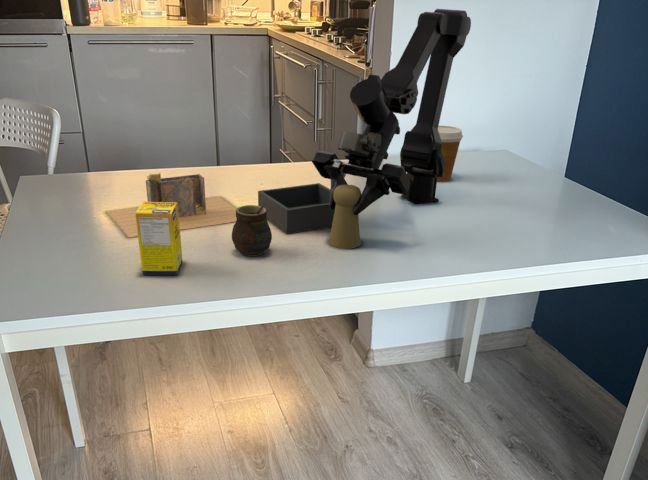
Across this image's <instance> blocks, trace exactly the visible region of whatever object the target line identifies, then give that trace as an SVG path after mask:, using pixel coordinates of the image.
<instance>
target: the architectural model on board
mask: <svg viewBox="0 0 648 480" xmlns="http://www.w3.org/2000/svg"><path fill="white" fill-rule="evenodd" d="M205 184H206V183H205V176H203V175H202V174H201V173H196V174H188V175H179V176H170V177H161V172H158V173H153V174H152V173H149V174H148V175H147V176H146V179H145V190H146V198H147V202H177V203H178V214H179V225H180V231H181V230H182V231H183V230H189V229H194V228H202V227H207V226H208V227H209V226H216V225H222V224H228V223H236V220H237V218H236V209H237V208H236V207H234V206H233V205H231V204H230V203H229V202H227V201H226V200H225V199H223V198H222V197H221V196H217V197H208V198H206V185H205ZM138 208H139V207H133V208H126V209H125V208H123V209H117V210H109V211H107V214H108V215H109V216H110V217H111V218H112V220H113V221H114V222H115V223H116V224H117V225H118V227H119V228H120V229H121V230H122V231H123V233H124V234H125V235H126V236H127V237H128V238H135V237H138V232H137V223H136V211H137V210H138Z"/></svg>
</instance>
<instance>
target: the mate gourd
mask: <svg viewBox="0 0 648 480" xmlns="http://www.w3.org/2000/svg"><path fill="white" fill-rule="evenodd" d="M264 206H265V204H264V205H262V207H261V206H258V205H257V204H247V205H242V206H241V205H240V206H237V208H235V209H236V218H237V220H236V222H234V224H233V226H232V229H231V230H232V231H231V241H232V243H233V245H234V248H235V250H236V251H237V252H238V253H240V254H241V255H243V256H247V257H257V256H262V255H263V254H264V253H265V252H267V251H268V250H269V248H270V247H271V244H272V239H273V234H272V230H271V227H270V225H269V223H268V222H269V221H268V220H267V219H266V217H267V210H266V209H265V208H264Z"/></svg>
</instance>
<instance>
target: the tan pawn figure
mask: <svg viewBox="0 0 648 480" xmlns="http://www.w3.org/2000/svg"><path fill="white" fill-rule="evenodd" d="M361 194H362V191H361V189H360V188H359V187H358V186H357V185H354V184H348V185H340V186H337V187H336V188H335V190H334V193H333V198H334V201H335V203H336V206H335V212H334V218H333V223H332V227H331V229H330V235H329V241H328V242H329V245H330V246H332V247H334V248H337V249H343V250H344V249H346V250H348V249H355V248H358V247H360V246H361V233H360V218H359V217H360V216H359V214H358V215H357V216H356V215H355V214H354V209H355V207H356V204H357V202H358V200H359V198H360V196H361Z"/></svg>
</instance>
